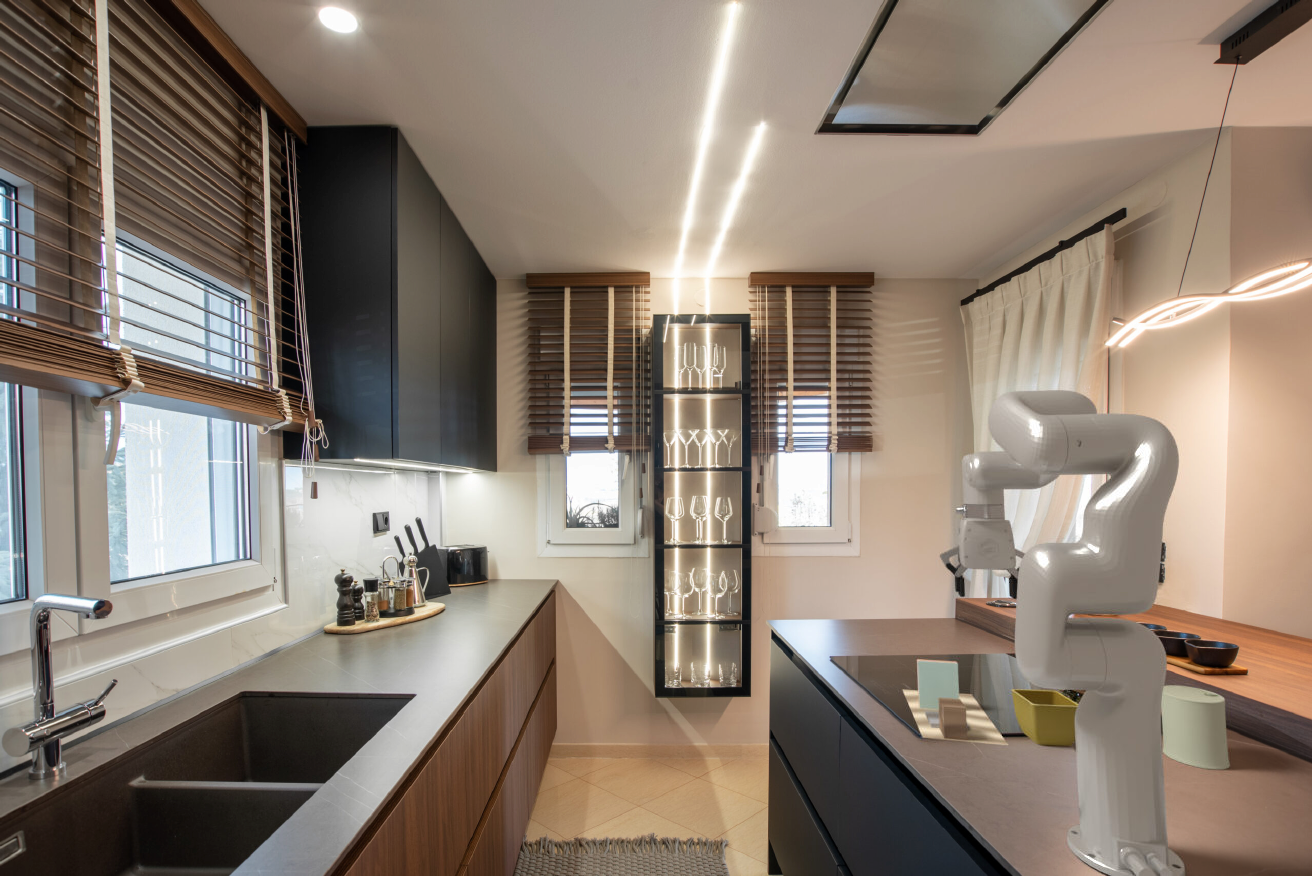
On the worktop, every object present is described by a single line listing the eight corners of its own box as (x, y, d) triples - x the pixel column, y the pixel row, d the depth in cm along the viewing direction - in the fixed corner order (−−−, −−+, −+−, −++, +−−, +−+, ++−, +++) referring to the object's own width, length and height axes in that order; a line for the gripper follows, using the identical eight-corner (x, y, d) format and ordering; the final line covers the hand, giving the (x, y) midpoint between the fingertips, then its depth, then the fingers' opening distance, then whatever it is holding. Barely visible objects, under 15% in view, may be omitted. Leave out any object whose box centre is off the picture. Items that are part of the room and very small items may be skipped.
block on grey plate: (975, 741, 117) (974, 708, 117) (936, 737, 118) (934, 705, 119) (961, 717, 128) (959, 688, 129) (925, 714, 130) (924, 685, 130)
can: (1243, 772, 106) (1238, 701, 107) (1182, 767, 108) (1178, 697, 109) (1207, 749, 115) (1203, 683, 116) (1151, 745, 117) (1147, 681, 118)
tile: (959, 711, 132) (957, 663, 132) (919, 707, 134) (918, 661, 134) (958, 708, 133) (956, 661, 134) (918, 705, 135) (916, 659, 136)
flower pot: (1059, 736, 122) (1056, 689, 122) (1085, 756, 113) (1082, 706, 113) (1012, 734, 122) (1010, 688, 123) (1034, 754, 114) (1032, 704, 114)
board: (1009, 751, 115) (1008, 745, 115) (922, 743, 118) (922, 737, 119) (971, 699, 142) (971, 694, 142) (902, 694, 146) (902, 689, 146)
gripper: (941, 513, 126) (944, 598, 125) (1036, 514, 121) (1040, 602, 120) (935, 511, 133) (938, 591, 132) (1025, 512, 128) (1029, 595, 127)
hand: (987, 596), depth 126 cm, fingers open, 9 cm apart
